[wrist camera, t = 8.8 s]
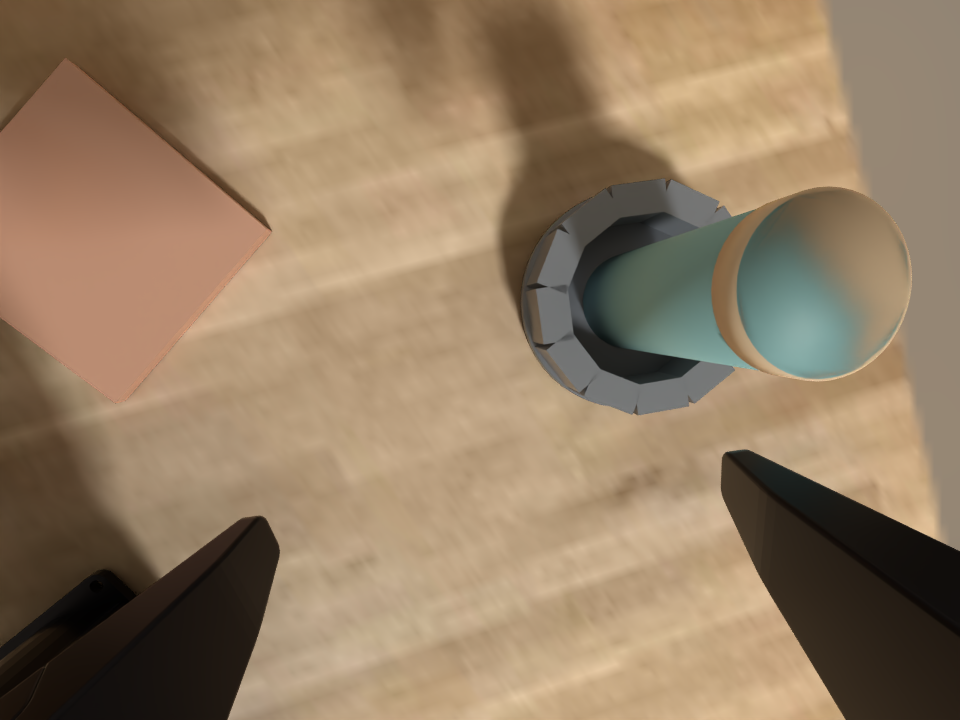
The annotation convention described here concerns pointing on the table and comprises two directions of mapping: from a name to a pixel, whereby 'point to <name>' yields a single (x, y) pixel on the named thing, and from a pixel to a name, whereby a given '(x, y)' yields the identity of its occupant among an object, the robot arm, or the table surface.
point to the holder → (560, 288)
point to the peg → (764, 288)
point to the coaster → (108, 234)
